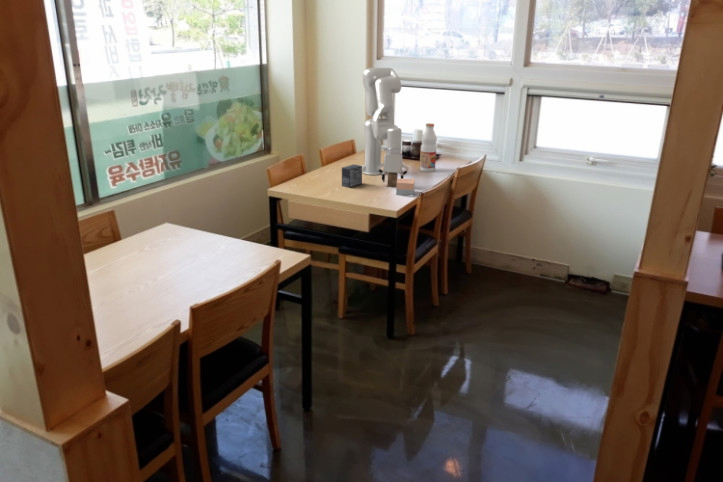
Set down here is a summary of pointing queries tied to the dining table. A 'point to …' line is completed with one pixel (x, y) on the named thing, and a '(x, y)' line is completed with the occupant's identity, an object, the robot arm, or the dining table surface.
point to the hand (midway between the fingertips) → (392, 181)
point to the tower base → (404, 192)
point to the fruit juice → (428, 150)
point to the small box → (351, 176)
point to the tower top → (405, 184)
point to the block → (392, 179)
